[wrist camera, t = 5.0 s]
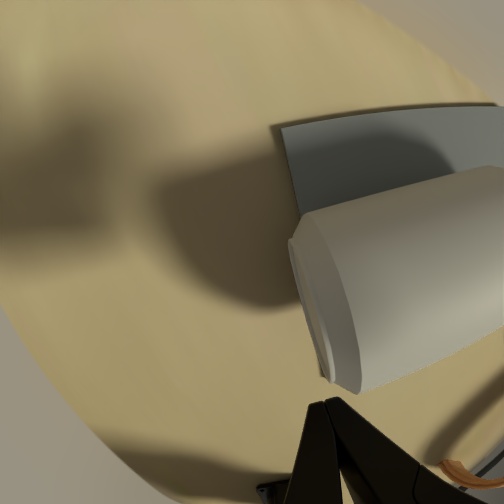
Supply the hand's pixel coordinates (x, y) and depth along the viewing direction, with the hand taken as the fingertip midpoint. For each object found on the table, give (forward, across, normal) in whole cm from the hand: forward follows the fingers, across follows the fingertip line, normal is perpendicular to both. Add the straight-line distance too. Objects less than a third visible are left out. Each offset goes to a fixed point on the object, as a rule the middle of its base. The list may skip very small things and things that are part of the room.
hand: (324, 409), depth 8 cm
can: (+5, 0, 0) cm, 5 cm away
